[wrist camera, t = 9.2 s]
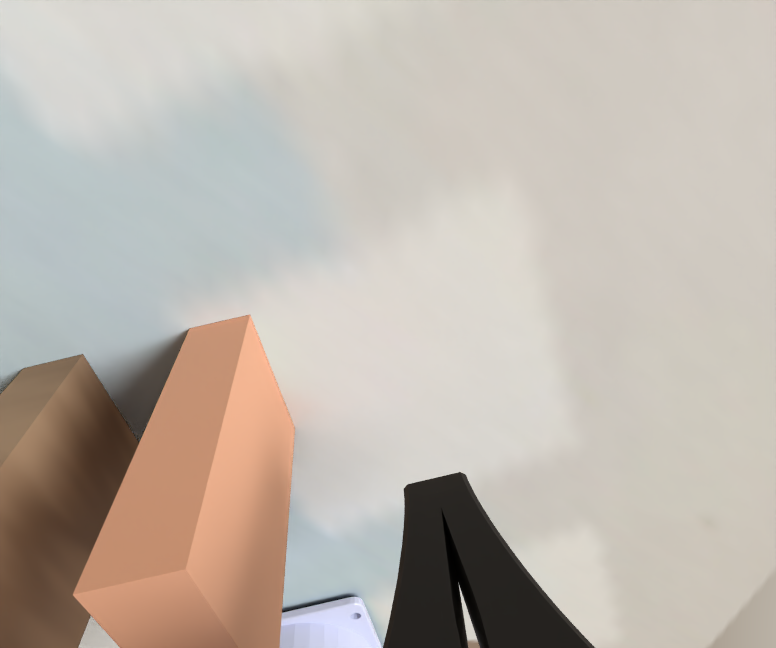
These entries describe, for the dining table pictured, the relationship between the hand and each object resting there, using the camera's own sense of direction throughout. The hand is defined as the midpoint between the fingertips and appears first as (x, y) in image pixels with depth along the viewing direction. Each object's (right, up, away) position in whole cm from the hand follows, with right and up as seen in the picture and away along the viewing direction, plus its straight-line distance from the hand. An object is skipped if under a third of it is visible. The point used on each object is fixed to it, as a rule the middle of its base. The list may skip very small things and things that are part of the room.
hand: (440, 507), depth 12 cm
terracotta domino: (-6, +2, +6) cm, 9 cm away
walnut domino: (-12, +1, +6) cm, 13 cm away
